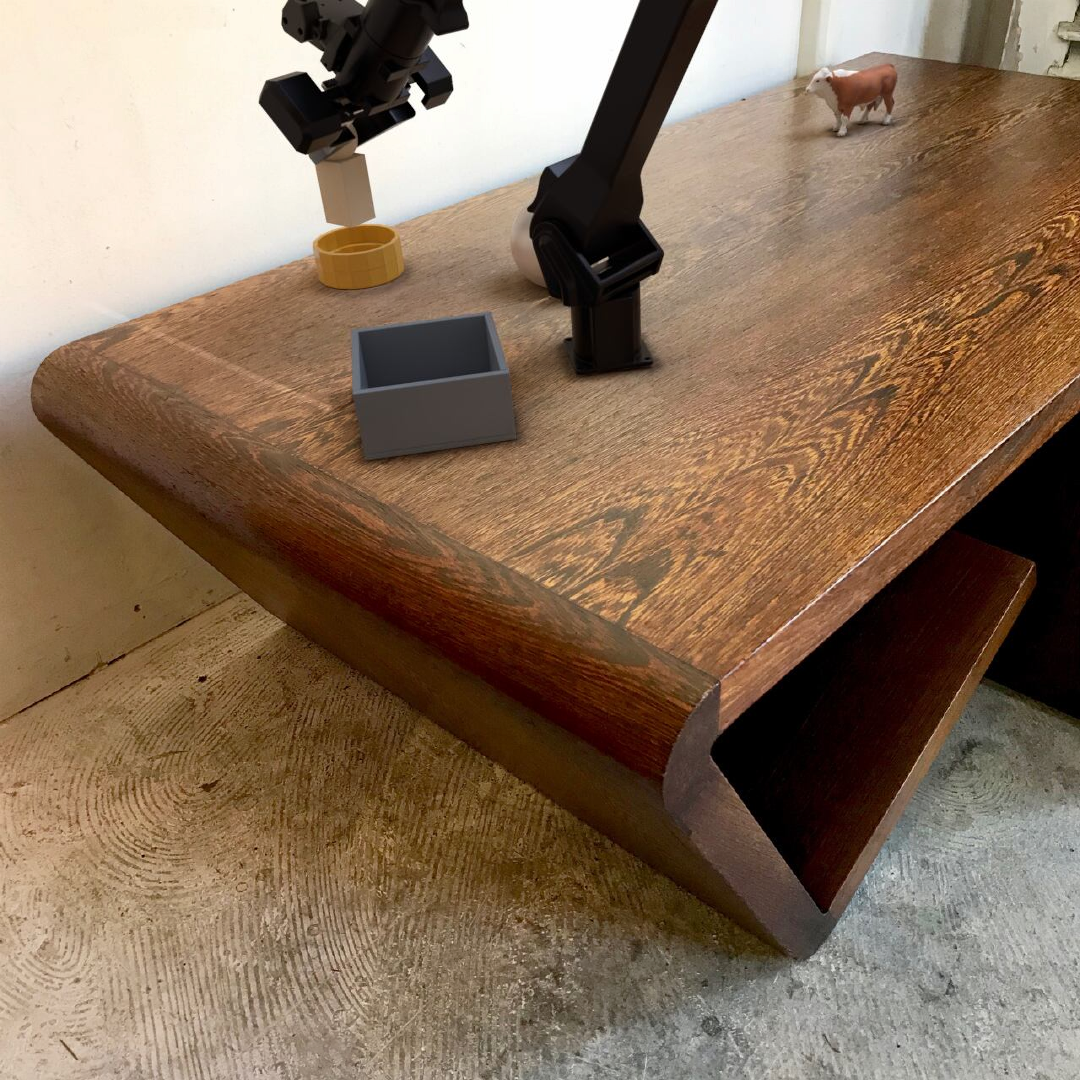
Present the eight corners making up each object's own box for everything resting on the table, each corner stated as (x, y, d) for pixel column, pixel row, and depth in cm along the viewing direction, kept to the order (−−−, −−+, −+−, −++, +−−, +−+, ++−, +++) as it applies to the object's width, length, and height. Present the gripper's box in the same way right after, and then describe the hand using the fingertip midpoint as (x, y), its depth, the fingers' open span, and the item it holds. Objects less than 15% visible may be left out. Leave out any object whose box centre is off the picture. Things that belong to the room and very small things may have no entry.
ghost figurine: (541, 314, 96) (533, 205, 90) (499, 281, 103) (489, 178, 97) (627, 291, 99) (624, 184, 93) (581, 260, 106) (576, 159, 100)
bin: (516, 439, 78) (509, 372, 75) (365, 460, 77) (352, 394, 74) (497, 373, 87) (490, 310, 84) (362, 391, 86) (350, 329, 83)
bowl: (407, 287, 104) (401, 248, 101) (320, 299, 103) (311, 259, 101) (402, 257, 111) (397, 219, 108) (320, 267, 110) (313, 229, 108)
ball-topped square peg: (380, 216, 102) (362, 112, 96) (350, 229, 99) (330, 123, 94) (351, 211, 104) (332, 109, 98) (321, 223, 101) (300, 119, 96)
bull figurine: (797, 135, 136) (801, 67, 131) (880, 116, 140) (888, 50, 135) (818, 142, 133) (823, 73, 128) (903, 123, 137) (911, 56, 132)
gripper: (410, -65, 92) (347, 63, 104) (244, -30, 80) (194, 110, 93) (489, 37, 92) (416, 153, 104) (335, 87, 81) (273, 210, 93)
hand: (329, 154), depth 99 cm, fingers closed on ball-topped square peg, 4 cm apart
